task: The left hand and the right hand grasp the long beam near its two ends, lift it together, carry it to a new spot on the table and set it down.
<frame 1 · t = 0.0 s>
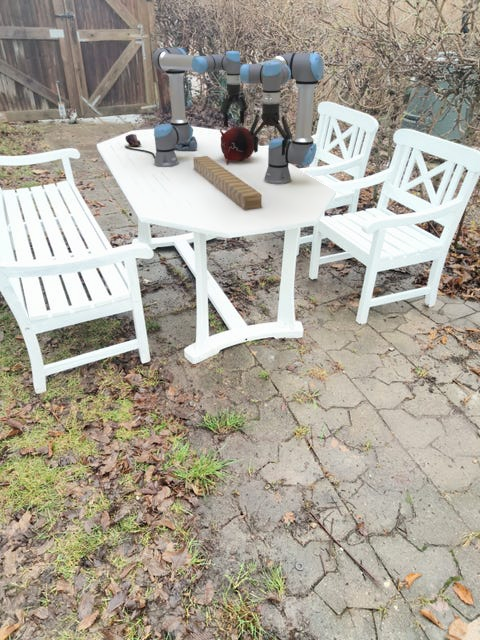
left hand: (234, 125, 259), 28 cm above the table, tool pointing down, fingers open, 13 cm apart
right hand: (269, 153, 207), 28 cm above the table, tool pointing down, fingers open, 13 cm apart
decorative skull: (238, 159, 301), on the table
rock: (133, 146, 334), on the table
long beam: (223, 186, 256), on the table
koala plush: (185, 148, 326), on the table
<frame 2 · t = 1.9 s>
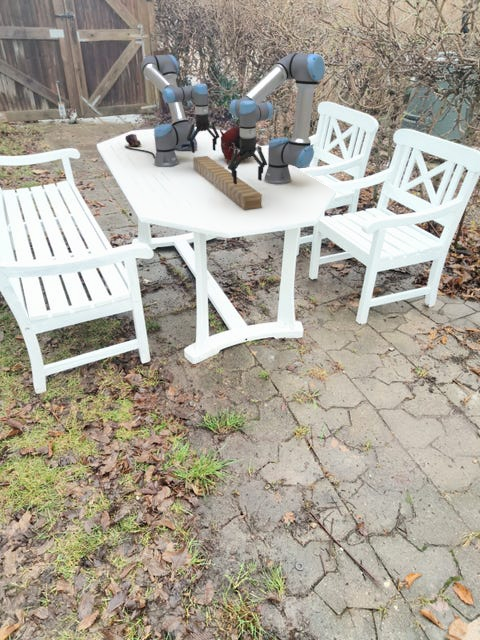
left hand: (203, 151, 274), 12 cm above the table, tool pointing down, fingers open, 13 cm apart
right hand: (247, 181, 225), 12 cm above the table, tool pointing down, fingers open, 13 cm apart
nothing on the table moved.
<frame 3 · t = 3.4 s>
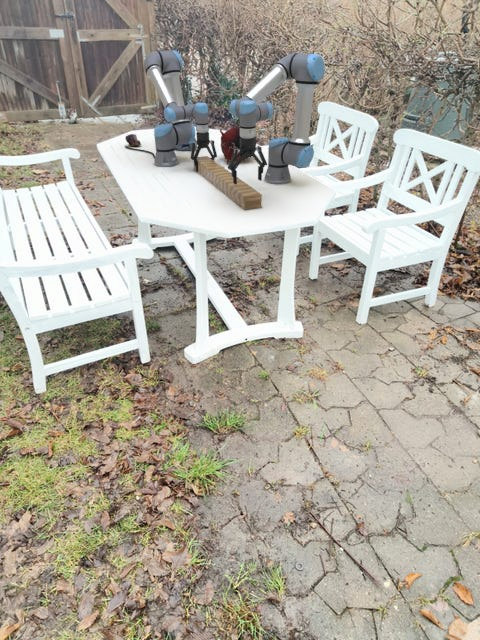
left hand: (204, 169, 281), 1 cm above the table, tool pointing down, fingers closed on long beam, 9 cm apart
right hand: (247, 181, 225), 12 cm above the table, tool pointing down, fingers open, 13 cm apart
long beam: (223, 185, 256), on the table, touching left hand
everything else where it was.
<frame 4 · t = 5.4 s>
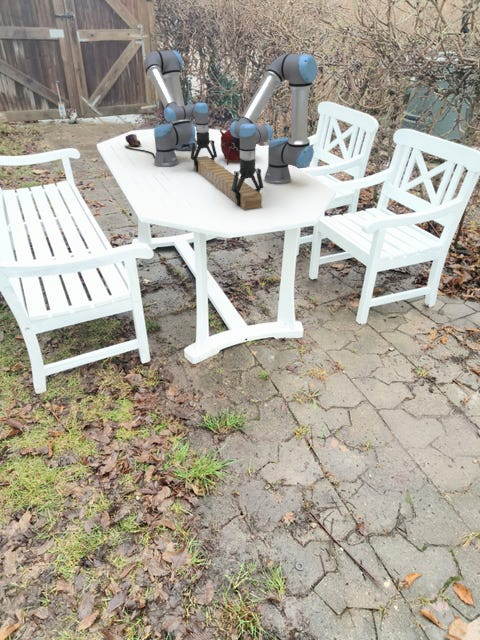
left hand: (204, 169, 281), 1 cm above the table, tool pointing down, fingers closed on long beam, 9 cm apart
right hand: (247, 203, 231), 1 cm above the table, tool pointing down, fingers closed on long beam, 9 cm apart
long beam: (224, 186, 256), on the table, touching left hand, right hand
everything else where it was.
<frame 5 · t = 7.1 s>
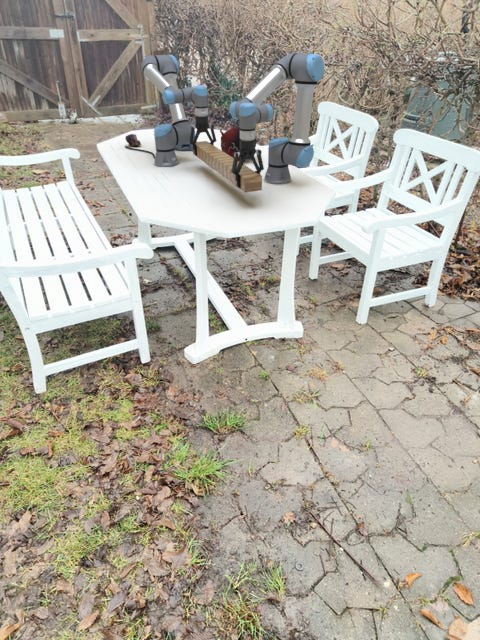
left hand: (203, 154, 276), 10 cm above the table, tool pointing down, fingers closed on long beam, 9 cm apart
right hand: (247, 185, 226), 10 cm above the table, tool pointing down, fingers closed on long beam, 9 cm apart
long beam: (223, 170, 251), point 9 cm above the table, touching left hand, right hand
everything else where it was.
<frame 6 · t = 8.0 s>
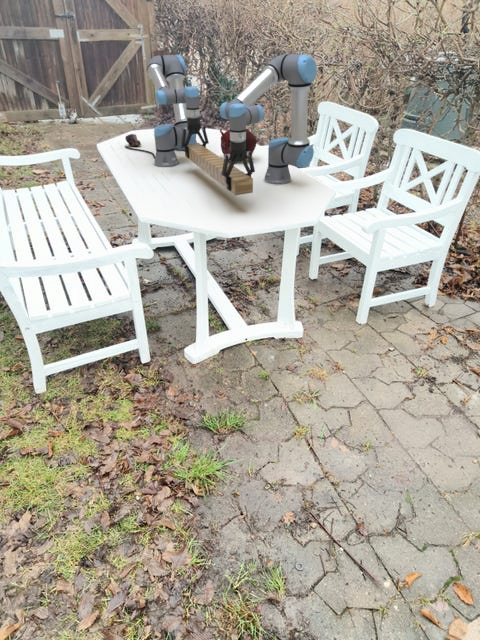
left hand: (195, 156, 271), 10 cm above the table, tool pointing down, fingers closed on long beam, 9 cm apart
right hand: (238, 188, 221), 10 cm above the table, tool pointing down, fingers closed on long beam, 9 cm apart
long beam: (215, 172, 247), point 9 cm above the table, touching left hand, right hand
everything else where it was.
when the left hand's fingers open (2 cm above the table, at t = 10.7 s): long beam stays where it is, on the table.
when the right hand's fingers open (2 cm above the table, at t = 10.7 s): long beam stays where it is, on the table.
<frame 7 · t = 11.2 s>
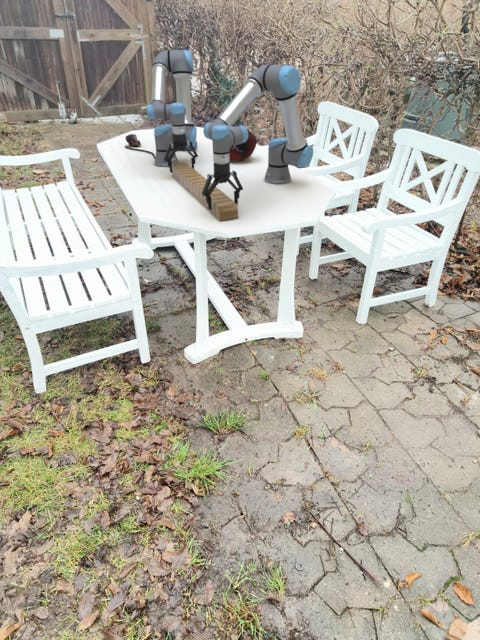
left hand: (182, 171, 267), 4 cm above the table, tool pointing down, fingers open, 13 cm apart
right hand: (223, 207, 217), 4 cm above the table, tool pointing down, fingers open, 13 cm apart
long beam: (201, 194, 244), on the table
everything else where it was.
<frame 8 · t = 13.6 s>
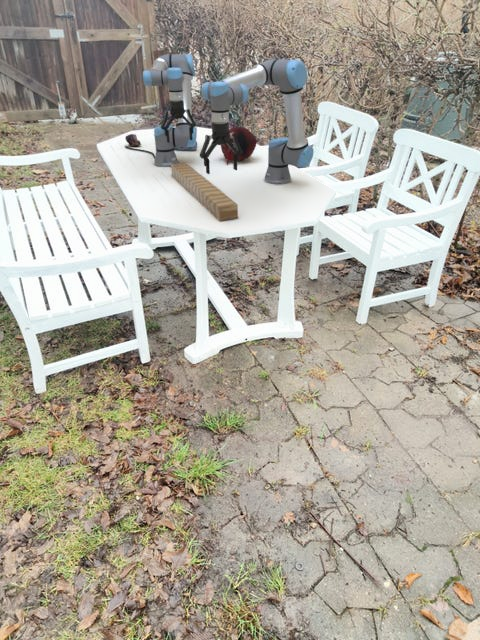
left hand: (179, 141, 257), 21 cm above the table, tool pointing down, fingers open, 13 cm apart
right hand: (221, 171, 208), 21 cm above the table, tool pointing down, fingers open, 13 cm apart
nothing on the table moved.
at the end: long beam inside the target area (0.2 cm from its centre), on the table; long beam tilted 0°; long beam never tilted more than 1° during the clip; both hands held the long beam at the same time; the left hand is holding nothing; the right hand is holding nothing; long beam at rest at the end (0.0 cm/s) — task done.
